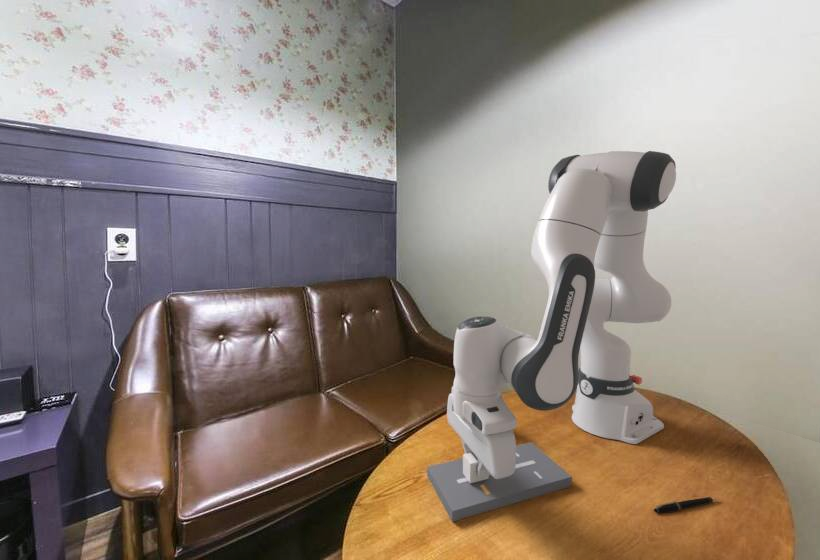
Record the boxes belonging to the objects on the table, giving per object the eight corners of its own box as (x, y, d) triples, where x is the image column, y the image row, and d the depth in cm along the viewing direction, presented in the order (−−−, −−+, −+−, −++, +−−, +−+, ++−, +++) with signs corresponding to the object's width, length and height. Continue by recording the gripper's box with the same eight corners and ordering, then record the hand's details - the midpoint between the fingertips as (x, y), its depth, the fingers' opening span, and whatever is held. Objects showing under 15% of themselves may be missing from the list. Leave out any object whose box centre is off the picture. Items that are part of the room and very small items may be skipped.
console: (531, 450, 75) (531, 441, 75) (571, 486, 64) (571, 476, 63) (427, 475, 67) (427, 466, 67) (452, 521, 56) (452, 510, 55)
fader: (480, 468, 65) (480, 449, 65) (488, 478, 63) (488, 459, 62) (462, 473, 64) (462, 454, 64) (470, 483, 61) (470, 463, 61)
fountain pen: (714, 498, 60) (714, 491, 60) (721, 503, 59) (722, 496, 59) (650, 511, 57) (650, 503, 57) (656, 517, 56) (656, 509, 56)
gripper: (439, 382, 71) (439, 441, 72) (490, 431, 51) (489, 511, 53) (465, 378, 73) (465, 436, 74) (523, 424, 53) (521, 501, 55)
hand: (475, 468), depth 63 cm, fingers closed on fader, 3 cm apart
